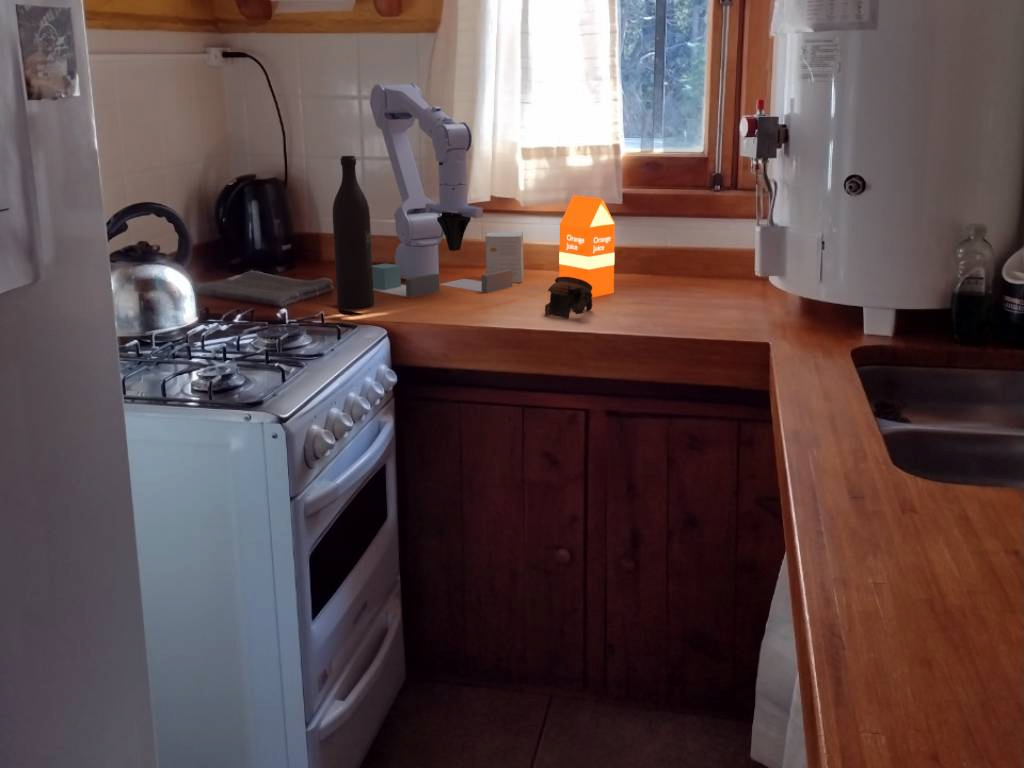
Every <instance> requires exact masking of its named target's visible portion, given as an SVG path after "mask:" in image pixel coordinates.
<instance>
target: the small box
mask: <svg viewBox="0 0 1024 768" xmlns="http://www.w3.org/2000/svg"><path fill="white" fill-rule="evenodd" d="M524 263H525V262H524V233H523V232H521V231H520V232H519V231H518V232H517V231H515V232H513V231H511V232H509V231H508V232H507V231H506V232H505V231H504V232H498V231H496V232H495V231H493V232H487V234H486V235H485V264H486V265H485V268H486V269H485V272H486V273H485V274H488V273H493V272H497V271H502V270H506V269H508V270H512V283H513V284H514V283H517V284H522V282H523V280H524V277H525V275H524V274H525V269H524V267H525V266H524Z"/></svg>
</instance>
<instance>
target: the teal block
mask: <svg viewBox="0 0 1024 768" xmlns="http://www.w3.org/2000/svg"><path fill="white" fill-rule="evenodd" d="M372 271H373V288H377V289H383V290H387V289H392V288H397V287H401V284H402V283H401V282H402V278H401V276H400V266H399V265H395V264H393V263H391V264H390V263H381V264H375V265H372Z"/></svg>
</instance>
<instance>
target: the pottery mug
mask: <svg viewBox="0 0 1024 768" xmlns="http://www.w3.org/2000/svg"><path fill="white" fill-rule="evenodd" d="M554 282H555V283H553V284H552V285H551V286H550V287H549V288H548V290H547V292H550V296H549V301H550V302H548V303H546V304H545V305H544V315H545V316H554V317H559V318H560V317H561V318H563V319H564V318H565V319H569V318H570V315H571V314H570V313H571V311H573V313H574V314H576V315H580V314H584V311H585V309H586V311H587V312H588V311H591V310H592V308H593V299H592V298H593V297H592V293H591V290H592V288H593V287H592V286H591V285H590V284H589V283H588V282H586V281H584V280H581V279H577V278H573V277H559V276H558V277H556V278H555V279H554Z"/></svg>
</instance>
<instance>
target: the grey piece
mask: <svg viewBox="0 0 1024 768" xmlns="http://www.w3.org/2000/svg"><path fill="white" fill-rule="evenodd" d="M439 284H440V273H439V274H429V275H425V276H420V277H415V278H410V279H405V284H402V283H401V287H397V288H392V289H387V290H383V289H377V288H373V292H378V293H380V292H381V293H385V294H390V295H397V296H400V297H406V298H416V297H420V296H424V295H428V294H429V295H430V294H433V293H438V292H440V285H439Z"/></svg>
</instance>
